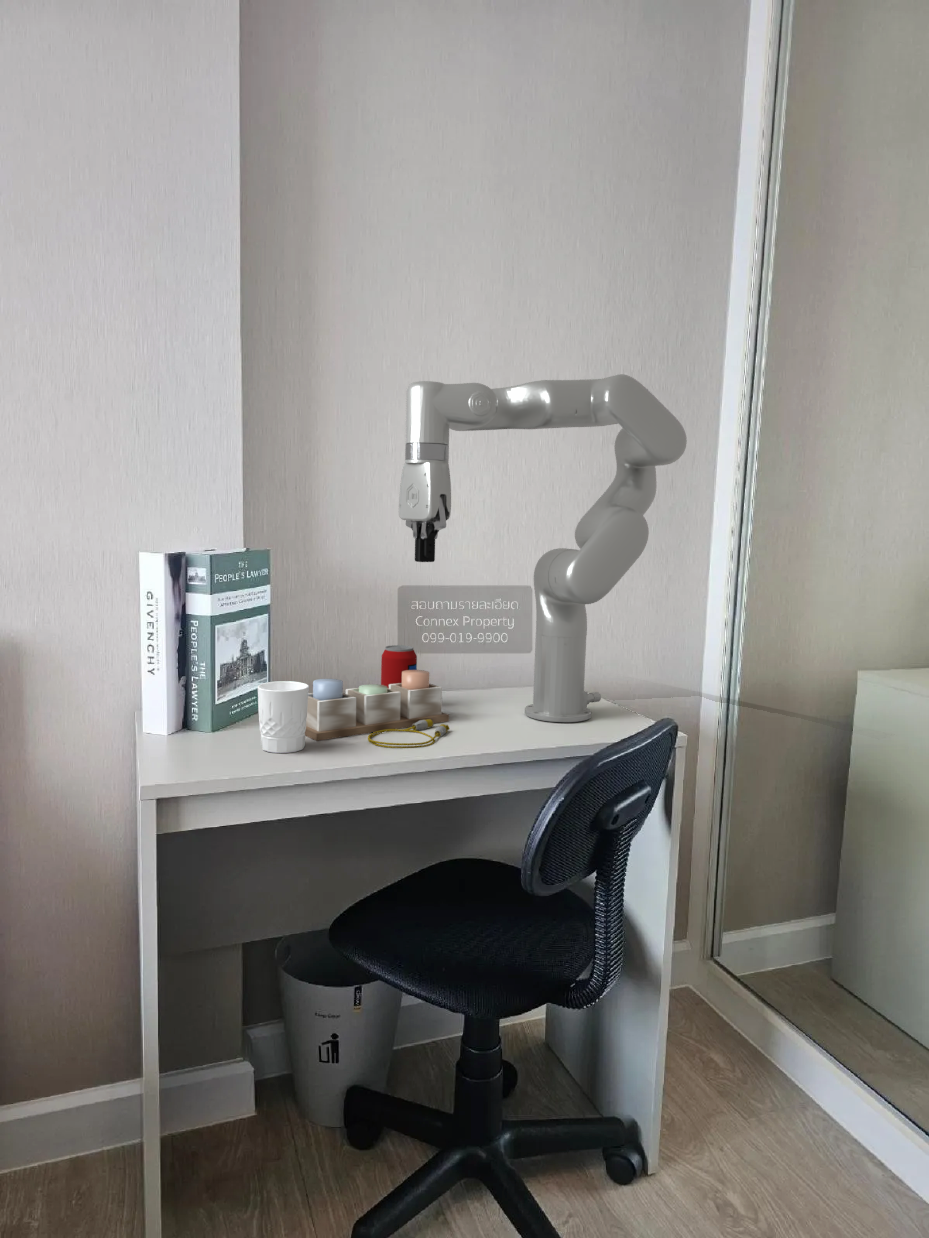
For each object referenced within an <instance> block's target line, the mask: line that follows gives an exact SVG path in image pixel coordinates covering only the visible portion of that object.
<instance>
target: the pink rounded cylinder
mask: <svg viewBox="0 0 929 1238" xmlns="http://www.w3.org/2000/svg"><path fill="white" fill-rule="evenodd" d="M429 684H430V671H428V670H423V669H422V670H421V669H417V670H405V671H402V687H403V688H406V689H410V690H416V689H424V688H429Z"/></svg>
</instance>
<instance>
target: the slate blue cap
mask: <svg viewBox="0 0 929 1238" xmlns="http://www.w3.org/2000/svg"><path fill="white" fill-rule="evenodd" d="M343 686H344V681H343V680H341V679H338V678H337V679H336V678H320V679H319V678H317V679H315V680H313V682H312V693H313V698H315V699H318V700H321V701H323V700H331V699H340V698H343V693H344V692H343V691H344V687H343Z"/></svg>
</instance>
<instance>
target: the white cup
mask: <svg viewBox="0 0 929 1238" xmlns="http://www.w3.org/2000/svg"><path fill="white" fill-rule="evenodd" d="M309 687H310V686H309V684H307V683H305V682H304V683H303V682H300V681H289V680H284V681H280V680H278V681H269V682H264V683H263V682H262V683H260V684H258V685H257V704H258V705H257V706H258V707H257V708H258V709H257V710H258V721H259V732H260V748H261V749H262V751H264V752H268V753H274V754H287V753H295V752H296V753H297V752H299V751H301V750H303V749H304V748H305V746H306V743H305V742H306V736H305V731H306V720H307V709H308V693H309Z"/></svg>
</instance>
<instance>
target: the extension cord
mask: <svg viewBox="0 0 929 1238" xmlns="http://www.w3.org/2000/svg"><path fill="white" fill-rule="evenodd" d="M433 726H434V723H433V722H432V720H431V719H427V720H419V721H418V722H416V723H414V724H413V725H412V727H406V728H400V729H386V730H380V731H376V732H373V733H369V734H368V736H367V741H368V742H369V743H370V744H372V745H373V746H378V747H382V748H386V749H387V748H389V749H416V748H425V747H430V746H432V745H433V744H434V743H435V742H436V738H440V737H442V736H444V735H446V734H447V732H449V730H450V726H449V725H448V724H447V725H446V724H444V723H442V724H440V725H438V726H436V728H435V730H434V736H432V735H429V734H428V733H425V732H423V731H425V730H427V729H430V728H433ZM382 732H407V733H417V734H419V735H423V736H426V737H428V738H429V740H427V741H423V742H410V743H407V742H406V743H402V742H401V743H400V742H399V743H398V742H385V741H384V742H383V741H378V740H373V739H371V738H374V737H375V736H378V735H381V734H383V733H382ZM380 733H381V734H380Z"/></svg>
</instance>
